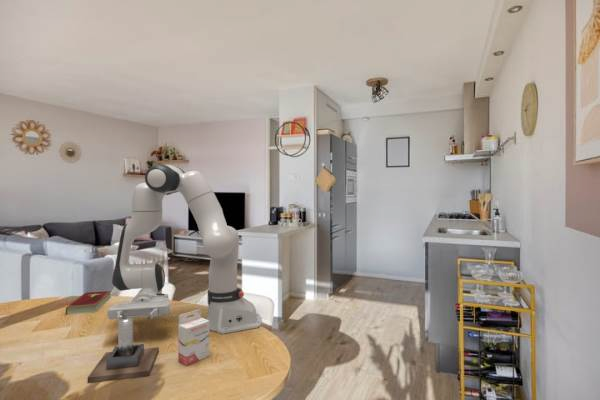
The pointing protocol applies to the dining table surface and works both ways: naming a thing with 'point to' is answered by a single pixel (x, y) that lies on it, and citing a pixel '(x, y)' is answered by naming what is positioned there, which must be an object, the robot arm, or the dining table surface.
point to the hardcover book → (88, 302)
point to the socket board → (123, 373)
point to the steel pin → (125, 336)
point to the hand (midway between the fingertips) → (134, 317)
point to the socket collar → (125, 358)
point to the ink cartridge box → (192, 337)
